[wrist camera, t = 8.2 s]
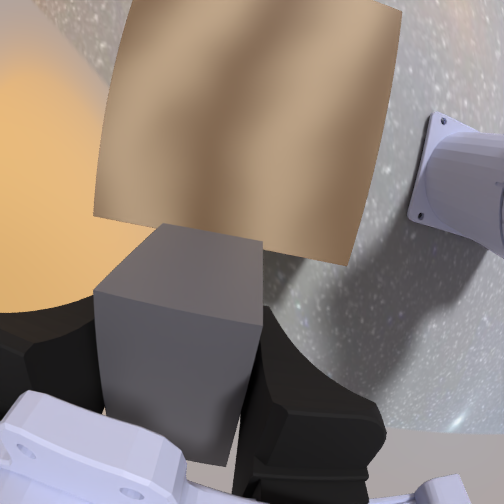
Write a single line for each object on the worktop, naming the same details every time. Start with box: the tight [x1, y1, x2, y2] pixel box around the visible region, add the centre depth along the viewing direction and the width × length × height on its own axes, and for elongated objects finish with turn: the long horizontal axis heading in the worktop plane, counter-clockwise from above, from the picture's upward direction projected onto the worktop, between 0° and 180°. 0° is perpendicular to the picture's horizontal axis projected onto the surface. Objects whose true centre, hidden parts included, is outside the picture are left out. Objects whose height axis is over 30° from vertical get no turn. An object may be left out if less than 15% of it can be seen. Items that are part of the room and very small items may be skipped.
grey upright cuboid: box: [93, 223, 263, 467], centre depth 11 cm, size 4×6×6 cm, turn 169°
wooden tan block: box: [93, 0, 402, 266], centre depth 14 cm, size 13×14×1 cm
